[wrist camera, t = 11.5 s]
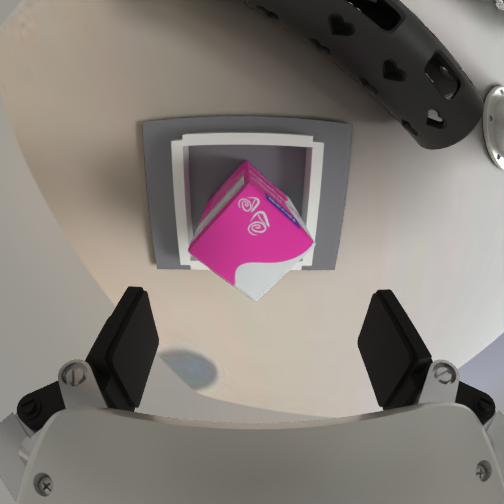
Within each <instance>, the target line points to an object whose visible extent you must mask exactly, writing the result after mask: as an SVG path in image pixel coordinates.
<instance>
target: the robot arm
mask: <svg viewBox="0 0 504 504" xmlns="http://www.w3.org/2000/svg"><path fill="white" fill-rule="evenodd" d="M483 131H484V137H485V142H486V146H487V149H488V152H489V154H490V156H491V158H492V160H493V162H494V163H495V164H496V165H497V166H498V167H499V168H500V169H502V170H504V86H496V87H494V88H493V89H491V90H490V92H489V93H488V95H487V97H486V100H485V104H484V109H483ZM158 345H159V337H158V333H157V330H156V326H155V322H154V318H153V314H152V310H151V306H150V302H149V298H148V293H147V291H144V290H143V288H142V287H131V286H130V287H128V288H127V290H126V291H125V293H124V294H123V296H122V298H121V299H120V301H119V303H118V305H117V306H116V308H115V310H114V312H113V313H112V315H111V316H110V317H109V318H108V319H107V321H106V323H105V325H104V326H103V328H102V330H101V332H100V334H99V335H98V338H97V339H96V341H95V343H94V345H93V347H92V348H91V350H90V352H89V354H88V356H87V358H86V360H85V361H83V360H71V361H69V362H67V363H66V364H64V365H63V366H62V368H61V369H60V370H59V374H58V381H56V382H54V383H52V384H50V385H47V386H45V387H43V388H41V389H39V390H36V391H34V392H32V393H29V394H27V395H26V396H24V397H23V398H22V399H21V400H20V401H19V403H18V406H17V413H16V414H14V413H13V412H12V413H11V414H10V415H9V416H7V417H6V418H5V419H4V420H3V421H2V422H0V477H1V479H2V481H3V483H4V484H5V486H6V487H7V489H8V491H9V492H10V494H11V495H12V497H13V498H14V500H15V501H16V504H504V414H503V413H501V412H500V411H497V412H495V404H494V401H493V399H492V398H491V397H490V396H489V395H488V394H486V393H484V392H482V391H479V390H477V389H475V388H473V387H471V386H469V385H467V384H465V383H463V382H461V381H459V372H458V370H457V368H456V367H455V366H454V365H453V364H452V363H450V362H449V361H446V360H436V361H434V362H433V361H432V359H431V357H432V356H431V354H430V353H429V351H428V349H427V347H426V345H425V344H424V342H423V340H422V339H421V337H420V335H419V333H418V332H417V330H416V328H415V327H414V325H413V324H412V322H411V320H410V319H409V317H408V315H407V314H406V312H405V311H404V309H403V307H402V306H401V304H400V303H399V301H398V300H397V298H396V297H395V295H394V294H393V292H392V291H391V290H389V289H388V290H377V292H376V293H374V294H373V295H372V298H371V302H370V305H369V308H368V311H367V314H366V317H365V320H364V323H363V326H362V329H361V332H360V335H359V337H358V348H359V350H360V353H361V356H362V359H363V361H364V364H365V367H366V370H367V372H368V375H369V378H370V381H371V384H372V387H373V390H374V393H375V396H376V399H377V402H378V404H379V406H380V407H383V410H384V411H380V412H374V413H368V414H362V415H356V416H349V417H342V418H334V419H324V420H314V421H302V422H301V421H300V422H281V423H232V422H212V421H198V420H188V419H179V418H171V417H163V416H156V415H149V414H142V413H136V412H134V409H135V407H137V408H138V407H139V405H140V401H141V398H142V395H143V392H144V388H145V385H146V382H147V379H148V375H149V373H150V369H151V366H152V363H153V360H154V357H155V354H156V351H157V348H158Z"/></svg>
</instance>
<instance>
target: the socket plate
mask: <svg viewBox="0 0 504 504" xmlns="http://www.w3.org/2000/svg"><path fill="white" fill-rule="evenodd" d="M352 125H353V124H346V123H338V122H330V121H321V120H311V119H299V118H285V117H262V116H214V117H191V118H177V119H165V120H155V121H146V122H143V142H144V160H145V174H146V186H147V197H148V206H149V215H150V223H151V231H152V238H153V245H154V252H155V259H156V265H157V269H188V270H211V269H209V268H208V267H207V266H205V265H204V264H203V263H201V262H200V261H199V260H197V259H196V258H195V257H194V256H192V255H191V254H190V253H189V252H188V248H189V245H190V243H191V240H192V238H193V236H194V234H195V231H196V229H197V226H198V224H199V222H200V219H201V217H202V215H203V212H204V210H205V208H206V205H207V203H208V201H209V199H210V198H211V197H212V196H213V195H214V194H215V192H216V191H217V190H218V189H219V188H220V187H221V186H222V184H223V183H224V182H225V181H226V180H227V179H228V178H229V177H230V176H231V175H232V174H233V172H234V171H235V170H236V169H237V168H238V167H239V166H240V165H241V164H242V163H243V162H244V161H245V160H248V161H249V162H250V163H251V164H252V165H253V166H254V167H255V168H256V169H257V170H258V171H259V172H261V173H262V174H263V175H264V176H265V177H266V178H267V179H268V180H269V181H271V182H272V183H273V184H274V185H275V186H276V187H277V188H278V189H280V190H281V191H282V192H283V193H285V194H286V195H287V196H288V197H289V198H290V200H291V202H292V203H293V205H294V207H295V208H296V210H297V212H298V213H299V215H300V217H301V219H302V220H303V222H304V224H305V226H306V227H307V229H308V231H309V233H310V235H311V236H312V238H313V240H314V242H315V243H316V245H315V247H314V248H313V249H311V250H310V251H309V252H308V253H307V254H306V255H305V256H304V257H303V258H302V259H301V260H300V261H299V262H298V263H297V264H296V265H294V266H293V267H292V268H291V269H290V270H335V265H336V259H337V253H338V247H339V241H340V235H341V228H342V222H343V215H344V207H345V200H346V191H347V183H348V174H349V164H350V153H351V140H352Z"/></svg>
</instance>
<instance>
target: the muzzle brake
mask: <svg viewBox="0 0 504 504" xmlns="http://www.w3.org/2000/svg"><path fill="white" fill-rule="evenodd" d="M245 1H246V4H247V6H248V7H249V8H251V9H253V10H255V11H257V12H258V13H260V14H262V15H264V16H266V17H267V18H269V19H271V20H273V21H274V22H276V23H278V24H279V25H281V26H283V27H284V28H286V29H287V30H289V31H291V32H292V33H294V34H295V35H297V36H298V37H300V38H301V39H303V40H304V41H306V42H307V43H309V44H310V45H311V46H313V47H314V48H316V49H317V50H318V51H320V52H321V53H322V54H324V55H325V56H326V57H328V58H329V59H330V60H332V61H333V62H334V63H336V64H337V65H338V66H339V67H341V68H342V69H343V70H344V71H345V72H347V73H348V74H349V75H350V76H351V77H353V78H354V79H355V80H356V81H357V82H358V83H359V84H361V85H362V86H363V87H364V88H365V89H366V90H367V91H368V92H369V93H371V94H372V95H373V96H374V97H375V98H376V99H377V100H378V101H379V102H380V103H381V104H382V105H383V106H384V107H385V108H386V109H387V110H388V111H389V112H390V113H391V114H392V115H393V116H394V117H395V118H396V119H397V120H398V121H399V122H400V124H401V125H402V126H403V127H404V128H405V129H406V130H407V131H408V132H409V133H410V135H411V136H412V137H413V138H414V139H415V140H416V142H417V143H418V144H419V145H420V146H421V147H423V148H426V149H441V148H446V147H449V146H451V145H454V144H456V143H457V142H459V141H461V140H462V139H464V138H465V137H466V136H468V135H469V134H470V133H471V132H472V131H473V130H474V128H475V127H476V126H477V124H478V123H479V121H480V119H481V116H482V114H483V109H484V102H483V99H482V97H481V95H480V94H479V92H478V91H477V89H476V88H475V86H474V85H473V83H472V82H471V80H470V79H469V78H468V76H467V75H466V74H465V72H464V71H463V70H462V68H461V67H460V65H459V64H458V63H457V61H456V60H455V59H454V57H453V56H452V55H451V54H450V52H449V51H448V50H447V49H446V48H445V46H444V45H443V44H442V43H441V42H440V41H439V39H438V38H437V37H436V36H435V35H434V34H433V33H432V32H431V31H430V30H429V29H428V28H427V27H426V26H425V25H424V24H423V23H422V22H421V20H420V19H419V18H418V17H417V16H416V15H415V14H414V13H413V12H412V11H410V10H409V9H408V8H407V7H406V6H405V5H404V4H403V3H402V2H401V1H399V0H245ZM349 2H350V3H352V4H353V5H352V4H350V3H349ZM357 8H358V9H360V10H358V9H357ZM443 67H445V68H446V69H447V71H446V70H444V69H443ZM425 73H427V74H428V77H429V78H430V79H432V80H433V83H432V81H431V80H430V79H429V78H428V77H427V75H426V74H425ZM451 94H454V95H453V96H452V97H451V98H450V100H448V99H446V98H445V97H447V96H449V95H451ZM431 109H433V110H435V111H436V112H437V113H438V117H440V118H442V119H443V121H441V122H439V121H436V120H433V119H431V118H428V111H429V110H431Z"/></svg>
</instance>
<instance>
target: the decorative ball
mask: <svg viewBox="0 0 504 504" xmlns="http://www.w3.org/2000/svg"><path fill="white" fill-rule="evenodd" d="M496 1H497V3H495V4H496V7H497V8H498V9H502V10H504V3H503V2H502V0H496Z"/></svg>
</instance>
